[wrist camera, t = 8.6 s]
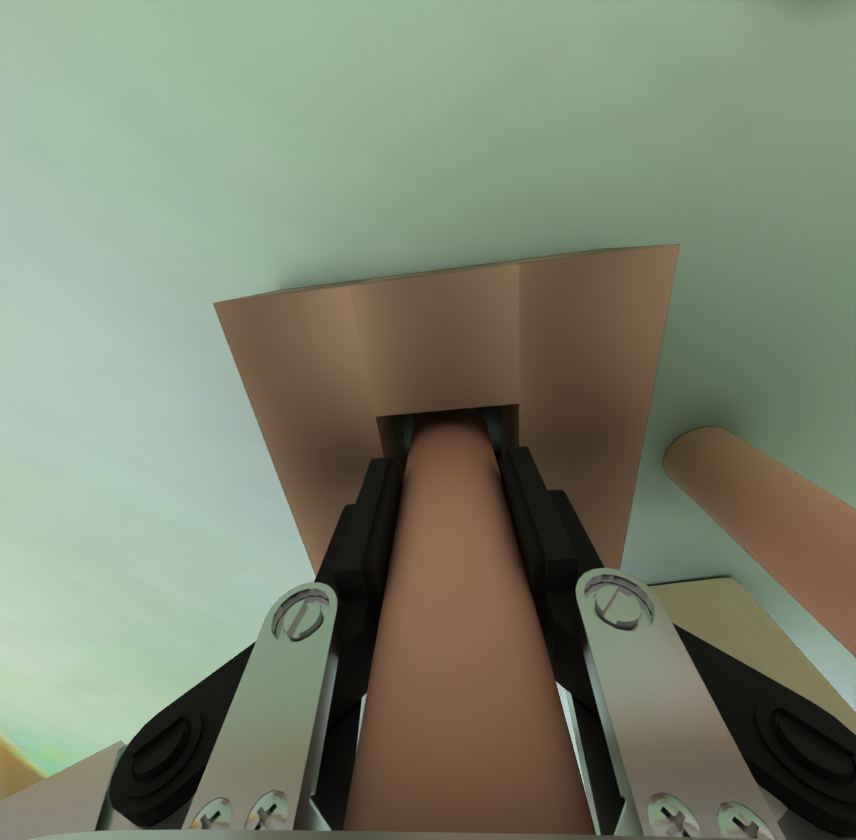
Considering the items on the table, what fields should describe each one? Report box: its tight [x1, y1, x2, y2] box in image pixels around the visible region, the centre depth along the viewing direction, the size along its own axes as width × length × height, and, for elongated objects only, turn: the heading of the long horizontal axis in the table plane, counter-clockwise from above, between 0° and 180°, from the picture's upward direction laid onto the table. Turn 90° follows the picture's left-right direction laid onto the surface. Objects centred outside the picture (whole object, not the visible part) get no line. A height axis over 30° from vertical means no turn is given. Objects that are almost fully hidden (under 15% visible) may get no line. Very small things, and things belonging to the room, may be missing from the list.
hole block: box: [213, 244, 680, 576], centre depth 13 cm, size 12×12×4 cm
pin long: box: [343, 408, 597, 835], centre depth 8 cm, size 3×3×12 cm
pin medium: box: [663, 427, 856, 658], centre depth 11 cm, size 3×3×8 cm
